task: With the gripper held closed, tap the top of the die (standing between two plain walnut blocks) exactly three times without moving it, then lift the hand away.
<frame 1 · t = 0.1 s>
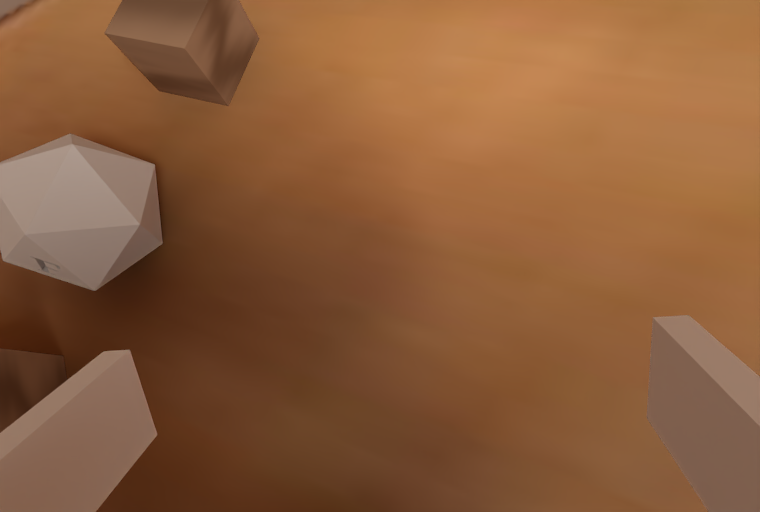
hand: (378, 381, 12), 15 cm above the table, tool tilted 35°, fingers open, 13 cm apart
walnut block 1: (209, 65, 36), on the table
die: (127, 233, 33), on the table
walnut block 2: (28, 419, 30), on the table
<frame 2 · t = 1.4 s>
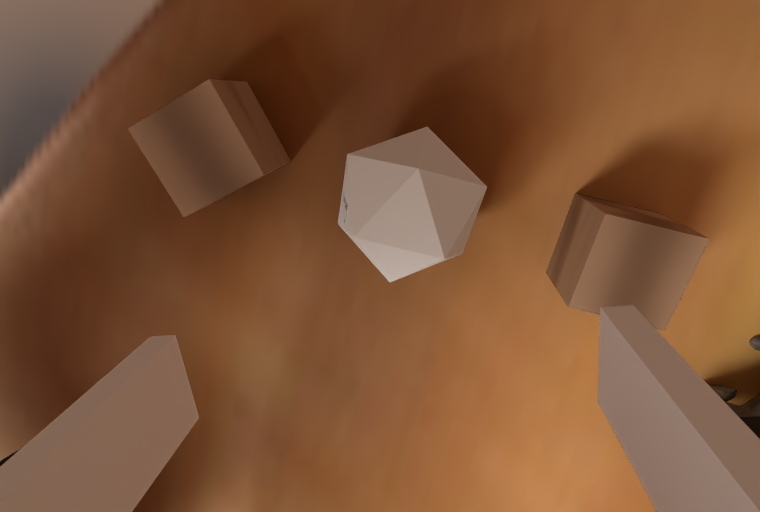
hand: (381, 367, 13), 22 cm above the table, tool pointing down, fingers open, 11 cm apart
walnut block 1: (601, 243, 34), on the table
die: (410, 193, 34), on the table
walnut block 2: (234, 142, 34), on the table
dog figurine: (719, 389, 37), on the table
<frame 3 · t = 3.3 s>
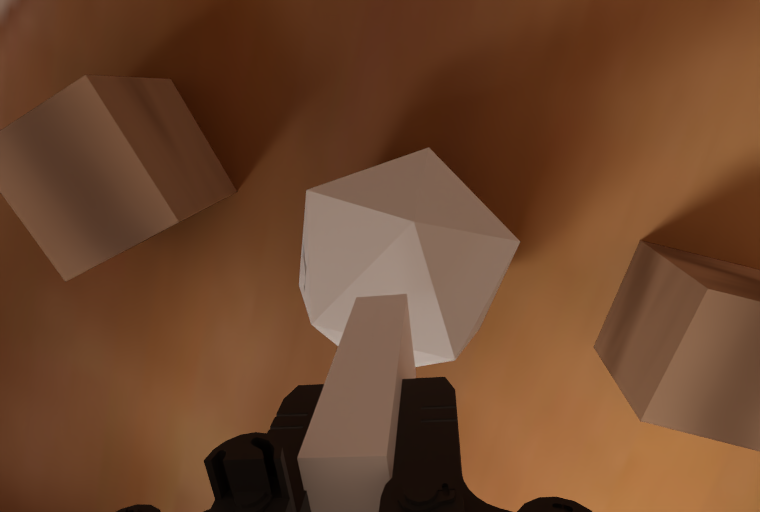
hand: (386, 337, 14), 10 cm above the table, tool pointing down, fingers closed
walnut block 1: (674, 310, 24), on the table
die: (404, 236, 24), on the table
walnut block 2: (158, 164, 24), on the table
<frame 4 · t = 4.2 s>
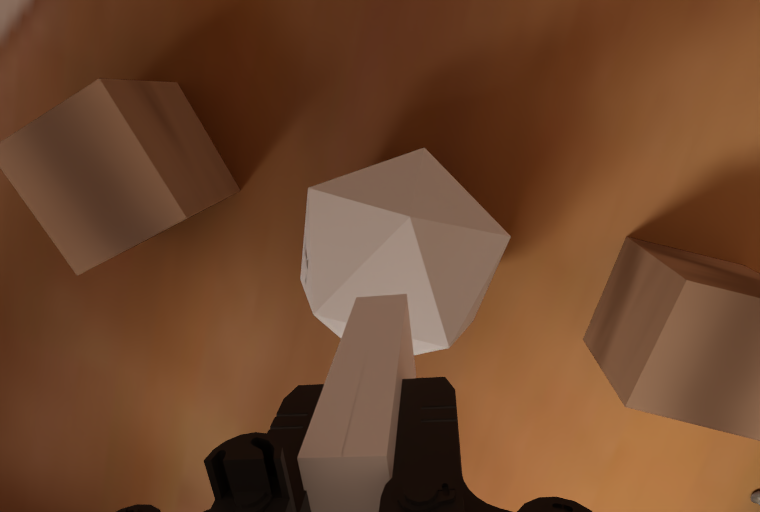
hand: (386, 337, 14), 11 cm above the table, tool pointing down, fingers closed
walnut block 1: (659, 303, 25), on the table
die: (401, 233, 25), on the table
walnut block 2: (164, 164, 25), on the table
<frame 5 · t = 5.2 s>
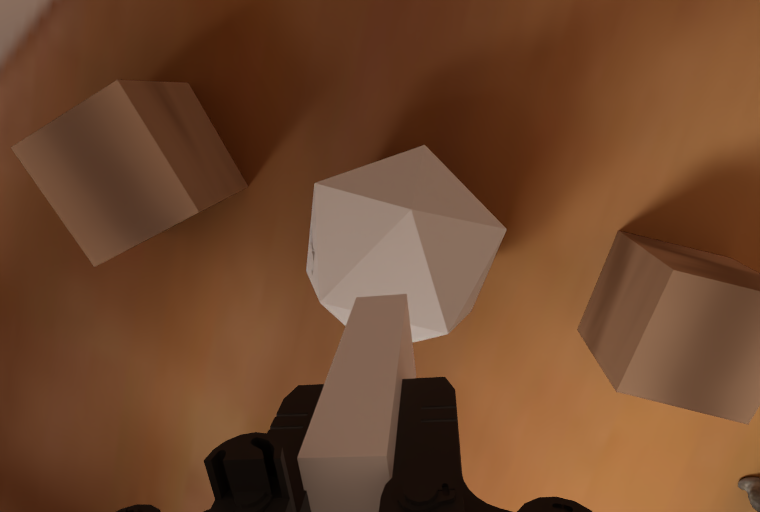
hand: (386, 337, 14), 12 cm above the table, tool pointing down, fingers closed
walnut block 1: (650, 294, 26), on the table
die: (403, 228, 26), on the table
walnut block 2: (175, 161, 26), on the table
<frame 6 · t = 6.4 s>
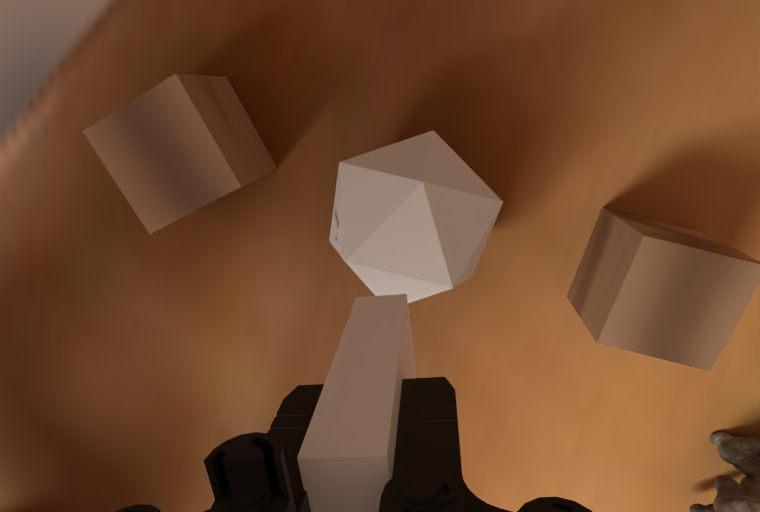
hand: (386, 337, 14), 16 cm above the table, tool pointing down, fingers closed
walnut block 1: (631, 264, 29), on the table
die: (413, 205, 30), on the table
walnut block 2: (213, 145, 30), on the table
dog figurine: (754, 441, 33), on the table
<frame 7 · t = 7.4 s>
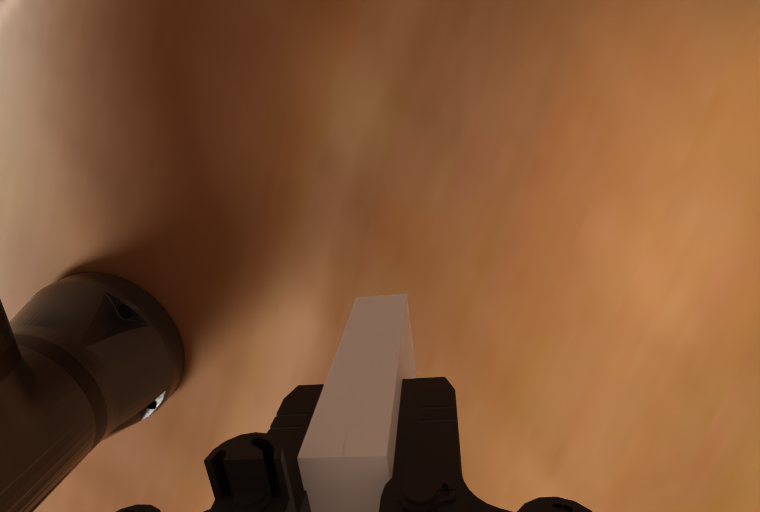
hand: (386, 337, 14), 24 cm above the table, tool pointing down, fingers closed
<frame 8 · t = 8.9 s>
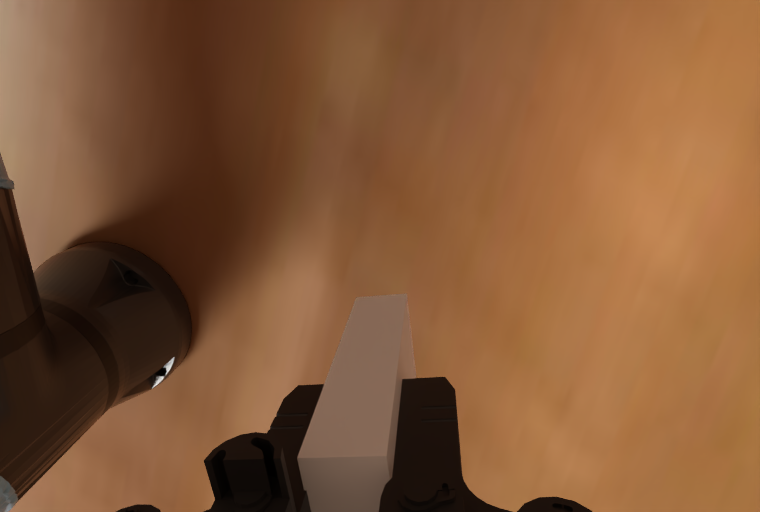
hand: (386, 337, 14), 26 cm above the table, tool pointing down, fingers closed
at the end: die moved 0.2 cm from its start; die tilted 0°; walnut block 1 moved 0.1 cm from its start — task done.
